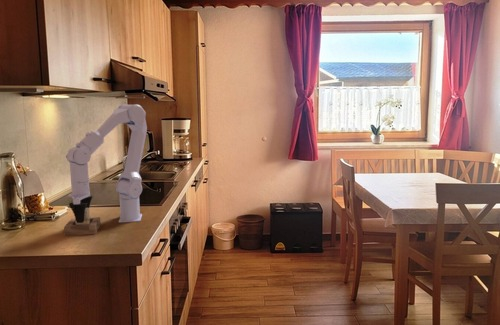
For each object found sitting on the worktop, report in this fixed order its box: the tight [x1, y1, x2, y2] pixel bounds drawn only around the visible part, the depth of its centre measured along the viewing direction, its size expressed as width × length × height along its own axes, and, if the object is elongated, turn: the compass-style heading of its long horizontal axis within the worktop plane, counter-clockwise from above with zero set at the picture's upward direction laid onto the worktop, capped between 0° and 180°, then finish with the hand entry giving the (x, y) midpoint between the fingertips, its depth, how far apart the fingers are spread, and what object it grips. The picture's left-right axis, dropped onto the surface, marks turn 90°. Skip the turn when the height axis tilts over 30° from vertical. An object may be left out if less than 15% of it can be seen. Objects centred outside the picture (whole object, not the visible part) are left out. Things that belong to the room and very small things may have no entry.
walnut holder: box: [63, 216, 102, 236], centre depth 145 cm, size 10×10×3 cm
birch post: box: [74, 207, 91, 225], centre depth 145 cm, size 4×4×7 cm
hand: (82, 219), depth 145 cm, fingers open, 7 cm apart
